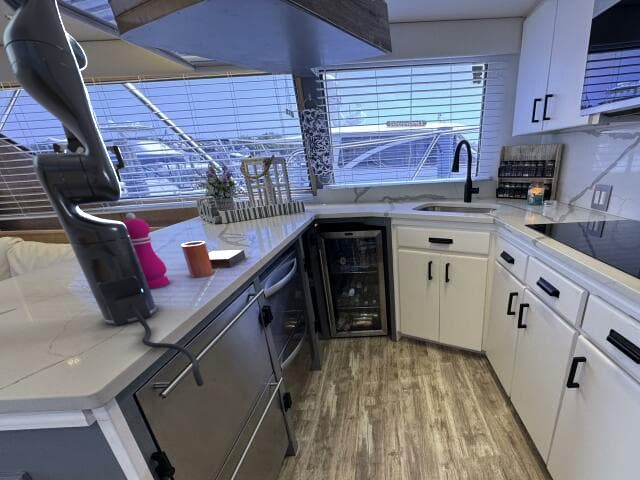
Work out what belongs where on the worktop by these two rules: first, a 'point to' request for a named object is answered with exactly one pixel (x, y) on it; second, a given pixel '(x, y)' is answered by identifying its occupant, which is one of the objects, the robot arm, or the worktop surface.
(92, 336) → the worktop surface
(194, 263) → the cup
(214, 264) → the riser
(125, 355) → the worktop surface
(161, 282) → the pepper mill
